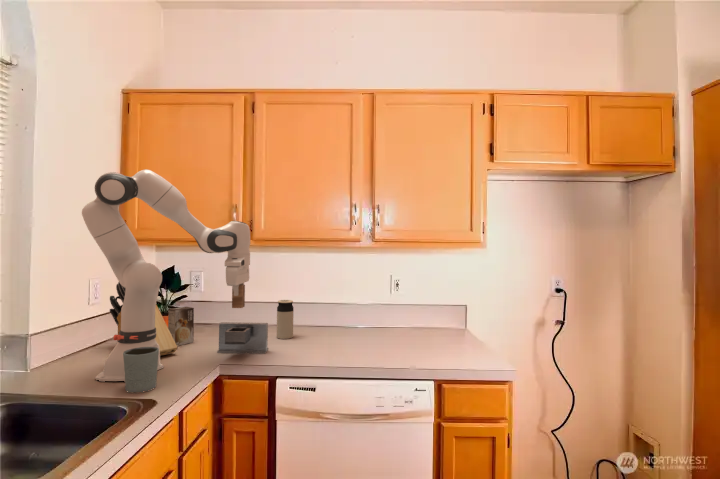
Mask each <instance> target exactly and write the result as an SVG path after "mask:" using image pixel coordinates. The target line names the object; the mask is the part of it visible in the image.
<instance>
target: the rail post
mask: <svg viewBox="0 0 720 479" xmlns="http://www.w3.org/2000/svg"><path fill="white" fill-rule="evenodd" d="M231 288H232V289H231V308H232V309H243V308H245V305H246V302H245V301H246V300H245V299H246V297H245V296H246V285H245V284H244V285H239V287H238V289H239V295H238V296H234V291H233V286H231Z"/></svg>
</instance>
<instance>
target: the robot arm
mask: <svg viewBox="0 0 720 479" xmlns="http://www.w3.org/2000/svg"><path fill="white" fill-rule="evenodd" d="M94 193H95V195H96V198H95V199H94V200H92V201H90V202H89V203H86V204H85V205H84V206H83V208H82V210H81V216H82V218H83V221H84V224H85V226H86V228H87V230H88V231H89V233H90V235H91V236H92V238H93V240H94V241H95V243H96V244H97V246H98V247H99V249H100V250H101V252H102V254H103V255H104V257H105V258H106V260H107V263H108V265H109V266H110V268H111V271H113V274H114V276H115V277H116V279H117V281H118V282H120V284H121V285H122V286H123V287H124V288H126V290H125V297H124V302H122V305H123V306H122V308H121V330H120V332H119V334H118V333H117V334H114V335H113V341H116V342H117V343H116V344H115V346H114V347H113V349H112V350H111V351H110V353H109V355H108V356H107V357H106V359H105V360H104V366H103V370H102V371H101V372H100V373H98V374H97V375H95V379H96V380H95V381H97V380H99V382H105V381H124V382H125V371H124V359H123V352H124V351H126V350H129V349H133V348H139V347H157V348H159V344H158V343H157V342H156V340H155V338H156V333H157V331H156V328H155V308H156V305H157V301H158V296H159V291H160V286H161V284H162V282H163V274H162V272H161V270H160V269H159V268H158V266H156V265H155V264H152V263H151V262H147V261H146V260H145V259H144V257H143V254H142V252H141V250H140V247H139V243H138V241H137V239H136V238H135V236H134V234H133V232H132V231H131V230H130V228H129V226H128V225H127V223H126V221H125V219H124V218H123V216H122V215H121V213H120V210H119V209H120V205H122V204H125V203H127V202H129V201H130V200H133V199H134V198H137V199H139V200H141V201H142V202H144V203H145V204H147V205H148V206H149V207H150V208H152V209H153V210H154V211H156V212H157V213H158V214H160V215H162V216H164V217H166V218H167V219H169V220H171V221H172V222H174V223H175V224H177V225H178V226H180V227H181V228H182V229H183V230H185V231H186V232H187V233H188V234H190V236H192V238H194V240H195V241H196V243H197V245H198V248H200V250H202V251H203V252H205V253H206V254H221V253H225V252H227V257H226V259H225V260H224V267H225V283H226V286H228V287H232V286H233V291H234V296H238V295H239V289H238V287H239V285H245V283H247V282H249V280H250V266H251V251H250V246H251V230H250V226H249V225H248V223H246V222H244V221H238V220H231V221H229V222H228V223H227V224H225V225H223V226H220V227H216V228H210V227H208V226H205V225H204V224H203V223H202V222H201V221H200V220H199V219H198V218H196V217H195V216H194V215H193V214H192V213H191V212H190V210H189V209H188V205H187V204H188V202H187V199H186V197H185V196H184V194H182V192H181V191H180V190H179V189H178V188H177V187H176V186H175V185H173V184H172V183H171V182H170V181H168V180H167V179H165V178H164V177H163V176H161V175H160V174H158V173H156V172H155V171H152V170H151V169H142V170H139V171H138V172H136V173H135V174H134V175H132V176H127V175H124V174H122V173H120V172H114V171H113V172H112V171H110V172H105V173H104V174H101V175H100V176H99V177H98V179H97V180H96V182H95V184H94ZM164 368H165V367H164V364H163V363H161V356H160V349H159V355H158V367H157V371H159V370H161V369H164Z"/></svg>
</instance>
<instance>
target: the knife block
mask: <svg viewBox="0 0 720 479" xmlns="http://www.w3.org/2000/svg"><path fill="white" fill-rule="evenodd" d="M115 289H116V293H117V295H118V296H116V297H115V295H109V302H110V304H111V306H112V308H109V313H110V314H111V317H112V319H113V320H114V322H115V324H116V326H117V335H118V334H119V332H120V330H121V308H122V306H123V304H120V303H119V302H118V300H121V302H122V303H123V302H124V297H125V290H126V288H124V287H123V286H122V285H121V284H120V282H119V281H118V283H117V284H116V288H115ZM155 328H156V331H157V333H156V338H155V340H156V342H157V343H158V344H159V349H160V357H162V356H166V355H171V354H174V353H176V352H177V350H178V346H177V345H176V343H175V341H174V339H173V337H172V335H171V333H170V331H169V329H168V324H167V322H166V321H165V319H164V317H163V315H162V313H161V311H160V309H159V307H158V305H157V304H156V308H155Z"/></svg>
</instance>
